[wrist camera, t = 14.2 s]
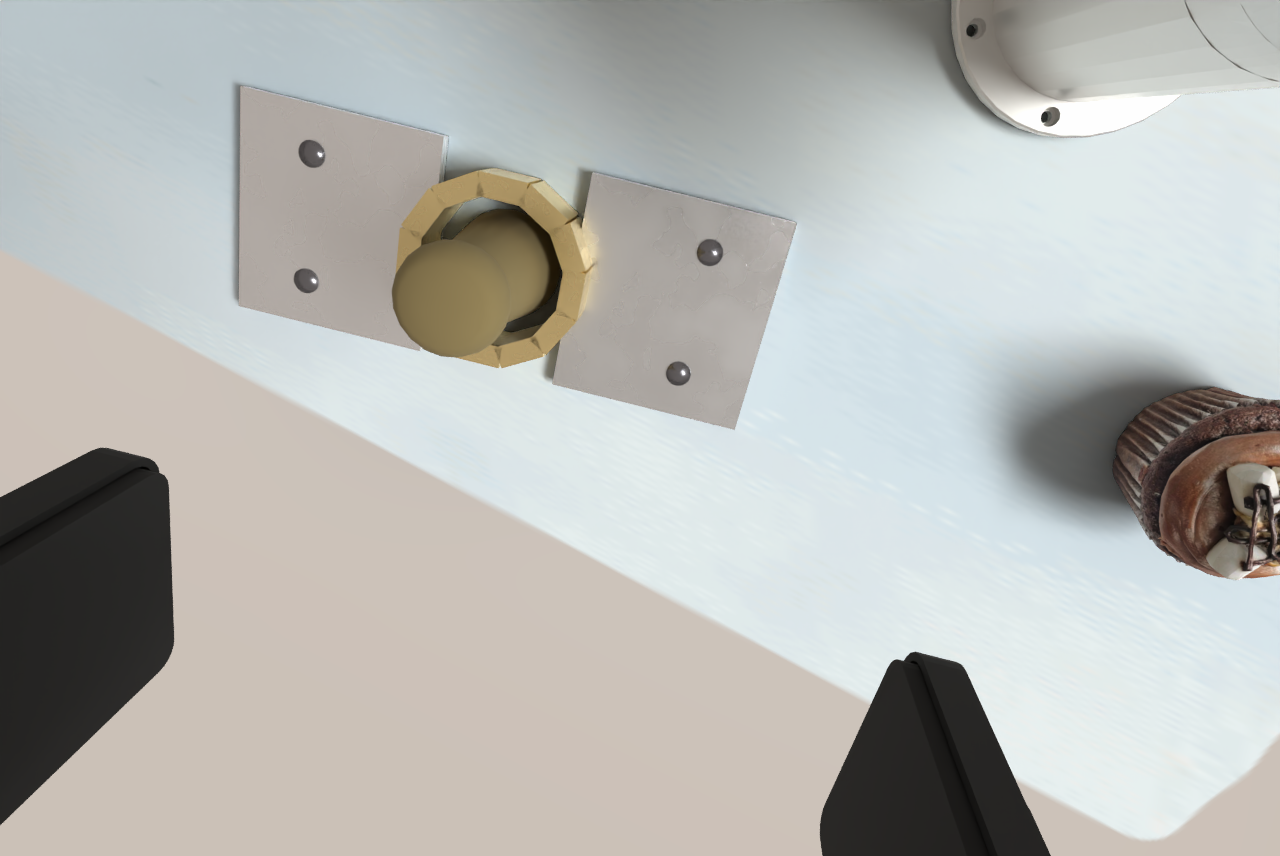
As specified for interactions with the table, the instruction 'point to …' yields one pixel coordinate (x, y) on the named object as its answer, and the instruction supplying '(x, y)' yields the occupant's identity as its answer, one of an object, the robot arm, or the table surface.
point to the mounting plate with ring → (587, 251)
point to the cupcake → (1207, 480)
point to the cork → (475, 283)
